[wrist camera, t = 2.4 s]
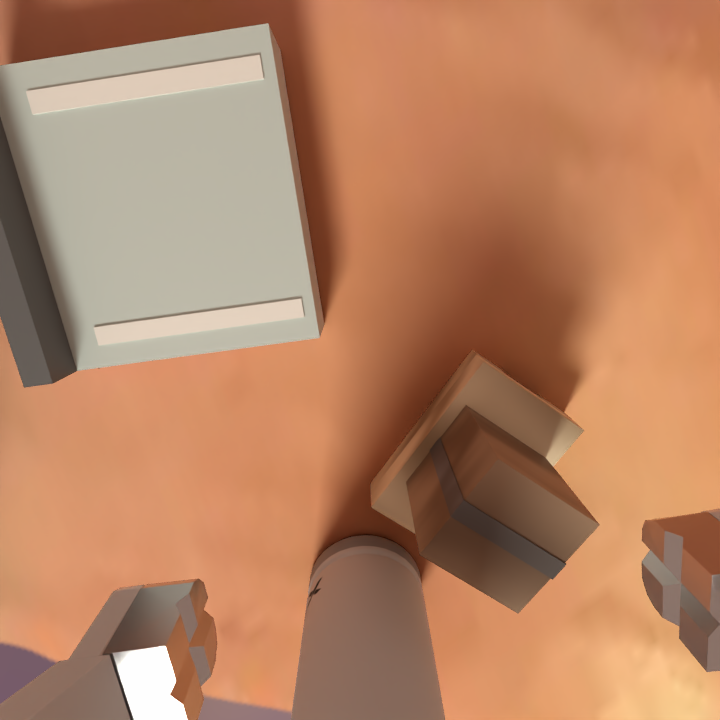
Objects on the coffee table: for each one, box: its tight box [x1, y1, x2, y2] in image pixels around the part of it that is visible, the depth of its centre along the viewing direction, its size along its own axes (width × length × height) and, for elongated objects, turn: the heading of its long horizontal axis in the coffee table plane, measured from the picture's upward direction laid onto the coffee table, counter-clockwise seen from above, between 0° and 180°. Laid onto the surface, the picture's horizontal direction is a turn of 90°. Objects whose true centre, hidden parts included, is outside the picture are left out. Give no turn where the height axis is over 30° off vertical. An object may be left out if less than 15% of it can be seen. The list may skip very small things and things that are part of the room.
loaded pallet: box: [370, 350, 599, 613], centre depth 22 cm, size 9×6×8 cm, turn 146°
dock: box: [0, 23, 324, 387], centre depth 21 cm, size 12×12×5 cm
